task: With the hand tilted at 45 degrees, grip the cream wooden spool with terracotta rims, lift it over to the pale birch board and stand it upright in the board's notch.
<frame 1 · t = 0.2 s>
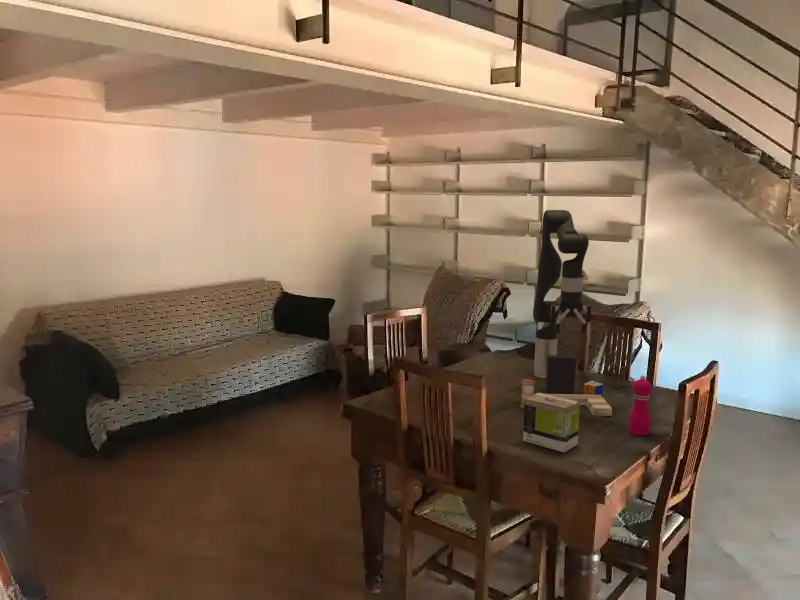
hand: (569, 333, 241), 29 cm above the table, tool pointing down, fingers open, 8 cm apart
notch board: (578, 408, 248), on the table
puzzle toy: (592, 397, 262), on the table
tea box: (550, 443, 215), on the table
spool: (527, 407, 249), on the table
pepper mill: (638, 432, 224), on the table
black rectangular block: (559, 392, 267), on the table
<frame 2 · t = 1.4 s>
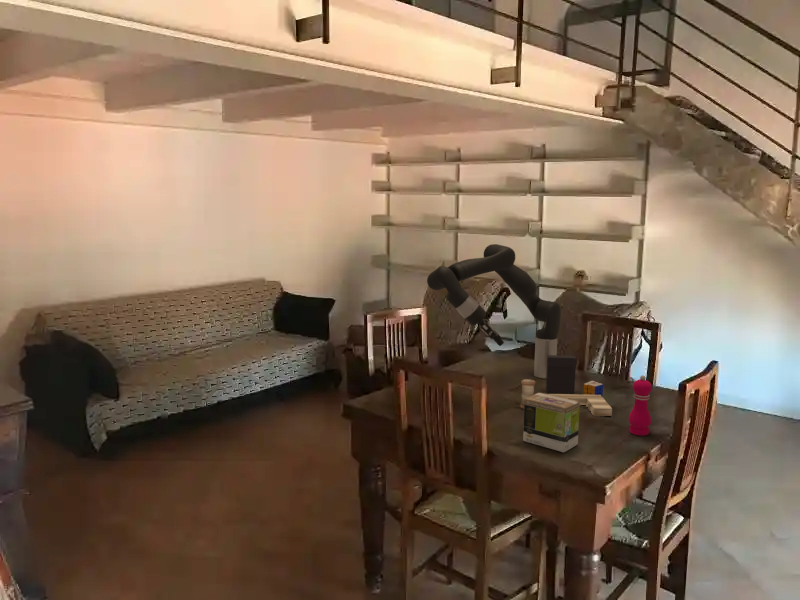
hand: (500, 341, 245), 25 cm above the table, tool tilted 45°, fingers open, 8 cm apart
nothing on the table moved.
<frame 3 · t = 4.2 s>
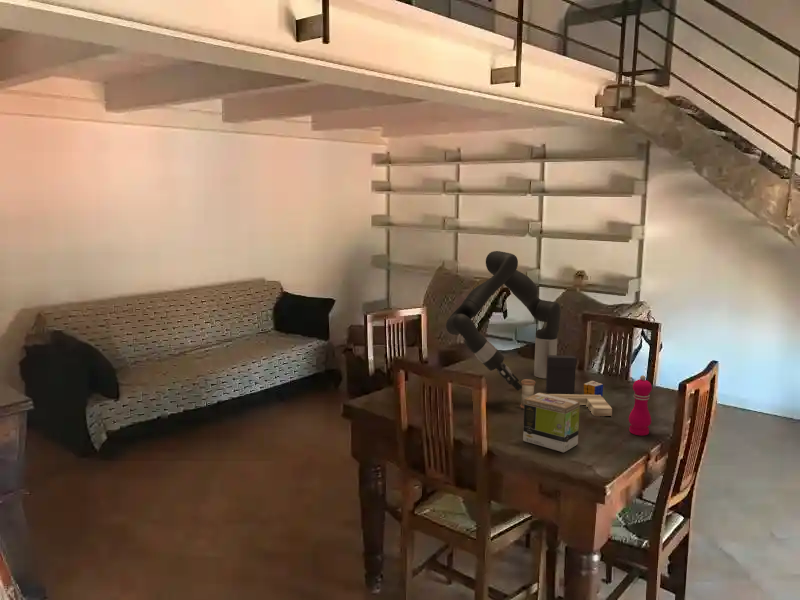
hand: (518, 385, 248), 8 cm above the table, tool tilted 45°, fingers open, 8 cm apart
nothing on the table moved.
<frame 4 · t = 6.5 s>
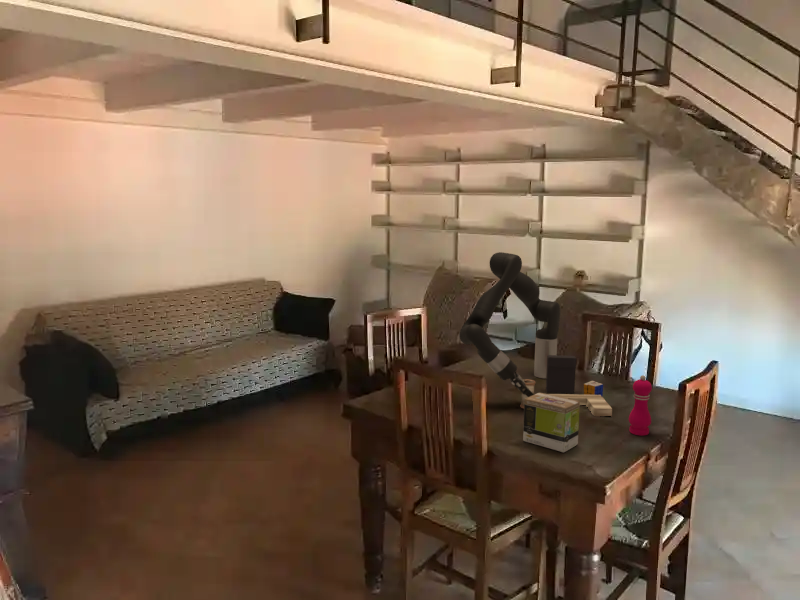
hand: (532, 396, 248), 4 cm above the table, tool tilted 45°, fingers closed on spool, 4 cm apart
spool: (527, 407, 249), on the table, touching gripper
everything else where it was.
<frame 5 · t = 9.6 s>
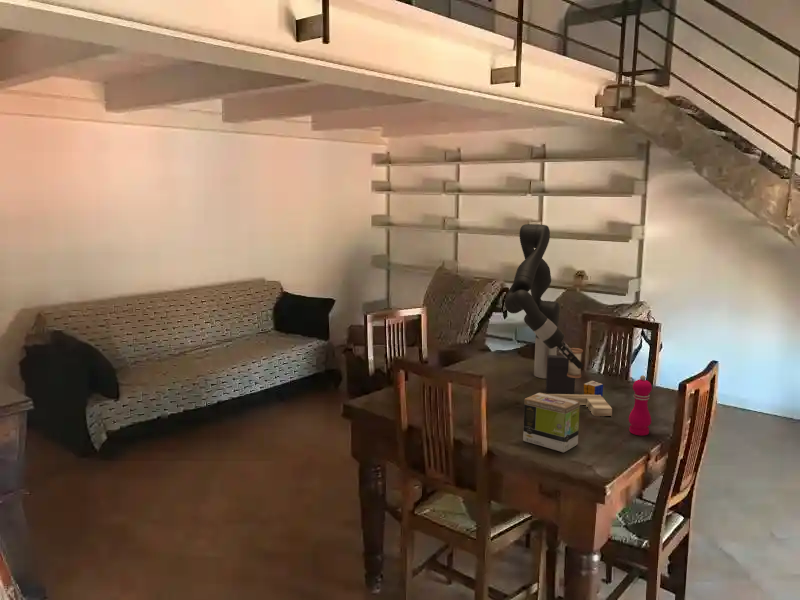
hand: (579, 365, 245), 17 cm above the table, tool tilted 45°, fingers closed on spool, 4 cm apart
spool: (574, 375, 246), point 13 cm above the table, touching gripper
everything else where it was.
when the fingers open (6 cm above the table, at t = 12.7 s): spool drops 2 cm, resting in notch board.
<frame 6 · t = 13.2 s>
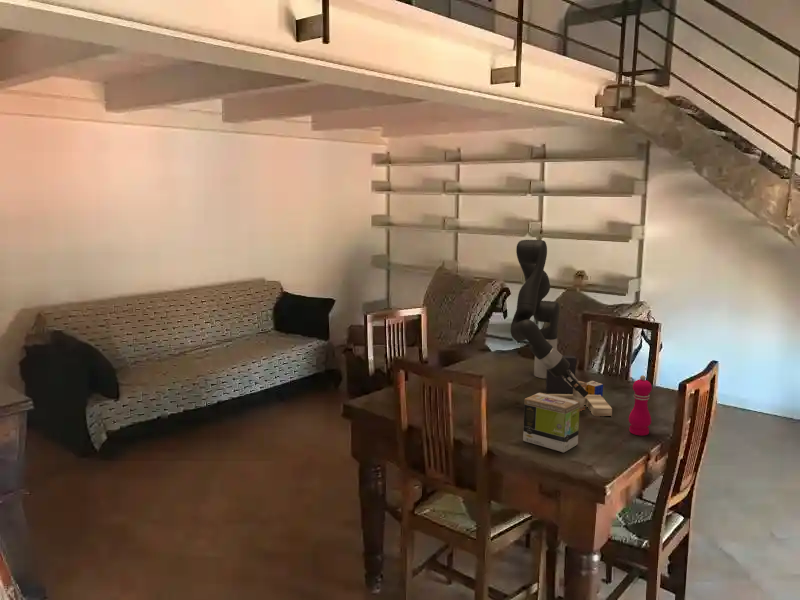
hand: (583, 391, 246), 7 cm above the table, tool tilted 45°, fingers open, 8 cm apart
spool: (578, 408, 247), resting in notch board
everything else where it was.
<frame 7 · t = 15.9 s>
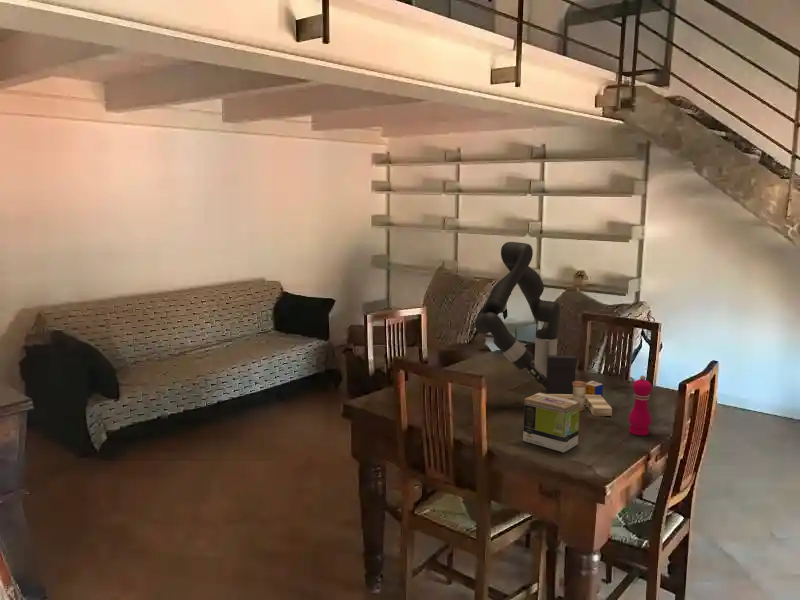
hand: (547, 384, 246), 9 cm above the table, tool tilted 45°, fingers open, 8 cm apart
nothing on the table moved.
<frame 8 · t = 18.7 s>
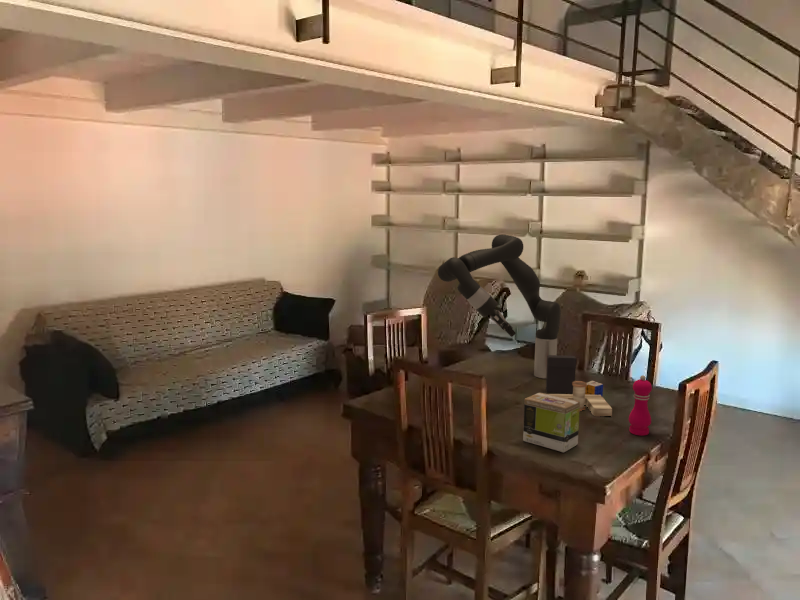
hand: (512, 332, 244), 29 cm above the table, tool tilted 45°, fingers open, 8 cm apart
nothing on the table moved.
at the end: spool 0.3 cm off-centre on the notch board, point 0.0 cm above the notch board's base; spool tilted 0°; the gripper is holding nothing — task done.
